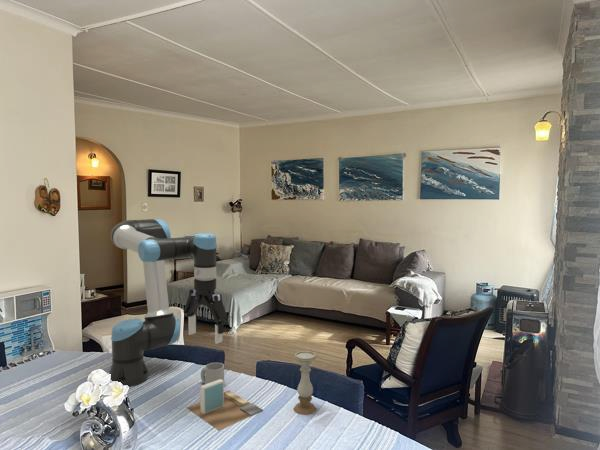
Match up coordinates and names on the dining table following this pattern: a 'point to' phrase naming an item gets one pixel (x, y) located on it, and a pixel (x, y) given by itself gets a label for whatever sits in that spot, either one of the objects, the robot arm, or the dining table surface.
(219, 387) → the tile
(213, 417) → the board
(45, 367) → the dining table surface
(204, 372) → the cup
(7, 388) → the dining table surface
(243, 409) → the turner
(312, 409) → the candle holder
